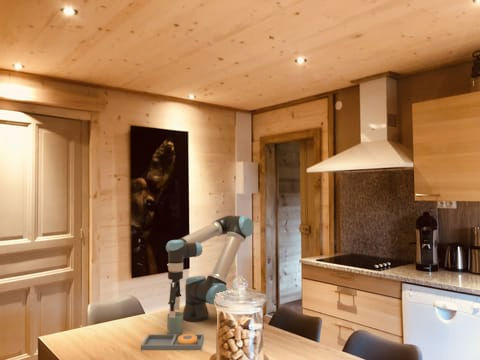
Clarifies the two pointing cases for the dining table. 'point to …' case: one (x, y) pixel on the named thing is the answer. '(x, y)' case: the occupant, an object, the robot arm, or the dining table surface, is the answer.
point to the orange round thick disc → (187, 339)
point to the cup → (175, 323)
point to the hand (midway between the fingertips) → (174, 313)
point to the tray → (169, 342)
